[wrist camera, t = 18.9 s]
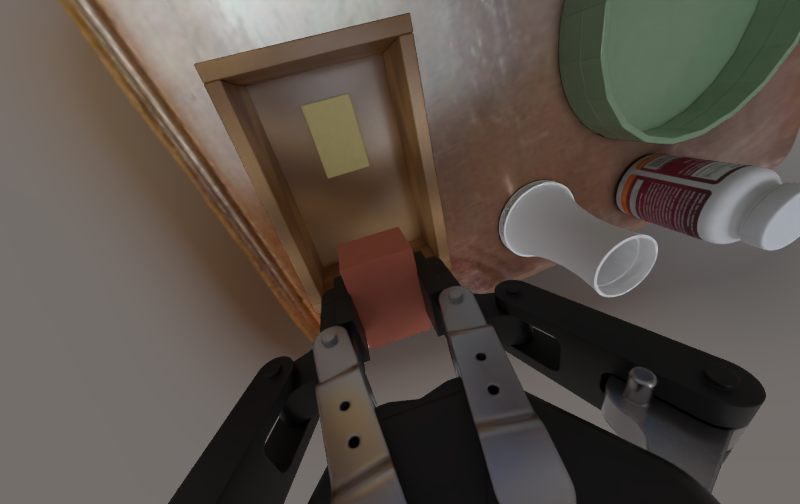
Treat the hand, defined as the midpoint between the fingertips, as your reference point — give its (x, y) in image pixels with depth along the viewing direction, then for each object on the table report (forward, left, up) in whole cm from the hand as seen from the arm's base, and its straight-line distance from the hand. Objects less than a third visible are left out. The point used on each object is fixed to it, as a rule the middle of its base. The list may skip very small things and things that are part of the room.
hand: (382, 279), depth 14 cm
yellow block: (-6, 0, -11) cm, 12 cm away
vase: (+6, +16, -11) cm, 20 cm away
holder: (-3, 0, -11) cm, 12 cm away
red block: (0, 0, -1) cm, 1 cm away
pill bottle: (+6, +28, -11) cm, 31 cm away
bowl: (-8, +27, -11) cm, 30 cm away
